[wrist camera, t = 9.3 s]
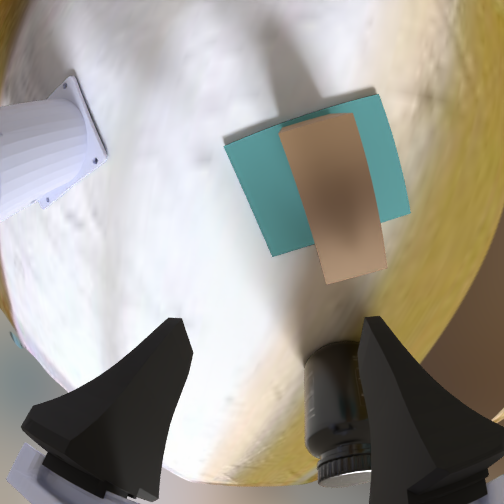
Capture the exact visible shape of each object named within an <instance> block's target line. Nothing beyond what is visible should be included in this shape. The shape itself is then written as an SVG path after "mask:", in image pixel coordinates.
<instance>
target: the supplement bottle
mask: <svg viewBox="0 0 504 504" xmlns="http://www.w3.org/2000/svg"><path fill="white" fill-rule="evenodd" d="M359 344H360V343H357V342H348V341H346V342H337V343H333V344H329V345H327V346H324V347H322V348H320V349H319V350H317V351H316V352H315V353H314V354H312V355H311V357H310V358H309V359H308V361H307V362H306V365H305V369H304V389H305V446H306V448H307V450H308V451H309V453H310V454H311V455H313V456H314V457H316V458H318V459H320V460H319V461H318V463H317V470H318V484H319V485H321V486H323V487H331V488H335V487H336V488H337V487H348V486H354V485H359V484H363V483H366V482H369V481H371V436H370V425H369V419H368V413H367V408H366V403H365V398H364V394H363V389H362V384H361V379H360V373H359V364H358V354H357V353H358V348H359Z"/></svg>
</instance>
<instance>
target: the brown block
mask: <svg viewBox="0 0 504 504" xmlns="http://www.w3.org/2000/svg"><path fill="white" fill-rule="evenodd" d="M278 134H279V137H280V140H281V143H282V145H283V148H284V151H285V154H286V156H287V159H288V162H289V165H290V168H291V171H292V174H293V177H294V180H295V182H296V185H297V188H298V191H299V194H300V198H301V201H302V204H303V207H304V210H305V213H306V216H307V219H308V223H309V226H310V229H311V232H312V236H313V239H314V243H315V246H316V249H317V253H318V256H319V260H320V263H321V267H322V270H323V274H324V278H325V281H326V285H328V284H331V283H335V282H339V281H343V280H347V279H350V278H354V277H358V276H361V275H365V274H368V273H372V272H375V271H379V270H382V269H386V268H387V261H386V254H385V247H384V241H383V234H382V228H381V223H380V217H379V212H378V207H377V202H376V197H375V193H374V188H373V184H372V179H371V175H370V171H369V167H368V163H367V159H366V155H365V152H364V148H363V144H362V141H361V138H360V134H359V131H358V128H357V124H356V121H355V118H354V115H353V113H335V114H327V115H324V116H320V117H316V118H313V119H309V120H306V121H302V122H299V123H296V124H292V125H289V126H286V127H283V128H281V130H280V132H279V133H278Z"/></svg>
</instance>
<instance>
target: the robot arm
mask: <svg viewBox="0 0 504 504" xmlns="http://www.w3.org/2000/svg"><path fill="white" fill-rule="evenodd" d="M66 84H67V87H66ZM96 158H97V160H98V162H96V160H95V159H96ZM106 160H107V153H106V151H105V149H104V146H103V144H102V142H101V140H100V137H99V135H98V133H97V130H96V128H95V126H94V123H93V121H92V119H91V116H90V114H89V111H88V109H87V106H86V104H85V101H84V99H83V96H82V93H81V91H80V88H79V85H78V83H77V80H76V78H75V77H74V76H69V77H67V78H66V79H65V80H64V81H63V82H62V83H61V84H60V85H59V86H58V87H57V88H56V89H55V90H54V92H53V93H52V94H51V95H50V96H49V97H48V98H47V99H46V100H39V101H32V102H25V103H18V104H13V105H7V106H2V107H0V223H1V222H2V221H4V220H6V219H7V218H9V217H11V216H12V215H14V214H16V213H17V212H19V211H21V210H23V209H24V208H26V207H28V206H30V205H32V204H33V203H35V202H37V201H38V202H39V204H40V206H41V208H42V209H46V208H48V207H49V206H50V205H51V204H52V203H53V202H54V201H56V200H57V199H58V198H59V197H60V196H62V195H63V194H64V193H65V192H66V191H68V190H69V189H70V188H71V187H73V186H74V185H75V184H76V183H78V182H79V181H80V180H82V179H83V178H84V177H85V176H87V175H88V174H89V173H91V172H92V171H94V170H95V169H96V168H98V167H99V166H100V165H102V164H103V163H105V162H106ZM357 354H358V364H359V373H360V379H361V384H362V389H363V394H364V398H365V403H366V408H367V413H368V419H369V425H370V436H371V487H370V498H369V504H504V474H503V475H501V476H499V477H497V478H495V479H493V480H492V481H490V482H488V483H486V482H485V478H486V477H488V475H489V473H488V467H489V466H491V465H492V464H494V463H495V462H497V461H498V460H499V459H500V458H502V457H503V456H504V427H503V426H501V425H499V424H497V423H495V422H493V421H491V420H489V419H487V418H485V417H483V416H482V415H480V414H478V413H477V412H475V411H474V410H472V409H470V408H469V407H467V406H466V405H465V404H463V403H462V402H461V401H459V400H458V399H457V398H455V397H454V396H453V395H451V394H450V393H449V392H448V391H447V390H445V389H444V388H443V387H442V386H441V385H440V384H439V383H437V382H436V381H435V380H434V379H433V378H432V377H431V376H430V375H429V374H428V373H427V372H426V371H425V370H424V369H423V368H422V366H421V365H420V364H419V363H418V362H417V361H416V360H415V359H414V358H413V357H412V355H411V354H410V353H409V352H408V351H407V349H406V348H405V347H404V346H403V345H402V343H401V342H400V341H399V340H398V338H397V337H396V336H395V335H394V333H393V332H392V331H391V330H390V328H389V327H388V326H387V324H386V323H385V322H384V321H383V319H382V318H381V317H380V316H373V317H365V319H364V324H363V329H362V334H361V339H360V344H359V348H358V353H357ZM192 356H193V350H192V347H191V344H190V341H189V338H188V336H187V333H186V330H185V327H184V323H183V320H182V318H168V319H166V320H165V321H164V322H163V323H162V324H161V325H160V326H159V327H158V328H156V329H155V330H154V331H153V332H152V333H151V334H150V335H149V336H148V337H147V338H146V339H144V340H143V341H142V342H141V343H140V344H139V345H138V346H137V347H136V348H135V349H133V350H132V351H131V352H130V353H129V354H127V355H126V356H125V357H124V358H122V359H121V360H120V361H119V362H118V363H116V364H115V365H114V366H112V367H111V368H110V369H108V370H107V371H106V372H104V373H103V374H101V375H100V376H98V377H97V378H95V379H93V380H92V381H90V382H88V383H86V384H85V385H83V386H81V387H79V388H77V389H76V390H73V391H71V392H69V393H67V394H65V395H63V396H61V397H58V398H55V399H53V400H50V401H47V402H44V403H41V404H38V405H34V406H33V407H32V409H31V410H30V412H29V413H28V415H27V417H26V419H25V421H24V422H23V424H22V426H21V428H22V430H23V431H24V432H25V433H26V434H27V435H28V436H29V437H30V438H31V439H33V440H34V441H35V442H36V443H38V444H39V445H40V446H41V447H42V448H43V449H45V450H46V451H47V452H48V453H47V455H46V456H45V455H43V454H42V453H41V452H39V451H38V450H36V449H35V448H33V447H32V446H30V445H29V444H27V443H24V445H23V446H22V448H21V450H20V452H19V454H18V456H17V458H16V460H15V462H14V464H13V466H12V468H11V470H10V472H9V474H8V476H7V479H6V480H7V482H8V483H10V484H11V485H12V486H13V487H14V488H15V489H16V490H17V491H18V492H19V493H21V494H22V495H23V496H24V497H25V498H26V499H27V500H28V501H29V502H30V503H31V504H139V503H136V502H134V501H131V500H128V499H127V496H129V497H131V498H134V499H136V497H138V498H141V499H144V500H147V501H150V502H153V501H156V500H157V499H158V498H159V485H160V474H161V468H162V461H163V455H164V450H165V444H166V440H167V435H168V431H169V427H170V423H171V420H172V417H173V414H174V411H175V408H176V406H177V403H178V400H179V398H180V395H181V393H182V390H183V387H184V385H185V382H186V379H187V376H188V374H189V370H190V366H191V361H192Z"/></svg>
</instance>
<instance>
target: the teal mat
mask: <svg viewBox="0 0 504 504" xmlns="http://www.w3.org/2000/svg"><path fill="white" fill-rule="evenodd" d="M335 113H353V115H354V118H355V121H356V124H357V128H358V131H359V134H360V138H361V141H362V144H363V148H364V152H365V155H366V159H367V163H368V167H369V171H370V175H371V179H372V184H373V188H374V193H375V197H376V202H377V207H378V212H379V217H380V223H382V222H385V221H388V220H391V219H394V218H398V217H401V216H404V215H407V214H410V213H411V212H410V206H409V201H408V196H407V191H406V186H405V182H404V177H403V173H402V169H401V165H400V161H399V157H398V153H397V149H396V146H395V142H394V139H393V135H392V132H391V129H390V126H389V123H388V119H387V116H386V113H385V110H384V108H383V105H382V102H381V99H380V96H379V94H376V95H372V96H368V97H364V98H361V99H357V100H353V101H349V102H346V103H342V104H339V105H335V106H332V107H329V108H325V109H322V110H319V111H316V112H313V113H310V114H307V115H304V116H301V117H298V118H295V119H292V120H289V121H286V122H284V123H281V124H278V125H275V126H273V127H270V128H267V129H265V130H262V131H260V132H257V133H254V134H252V135H249V136H247V137H245V138H242V139H240V140H237V141H235V142H232V143H230V144H228V145H225V146H224V148H225V151H226V153H227V155H228V157H229V159H230V162H231V164H232V166H233V168H234V171H235V173H236V175H237V177H238V179H239V182H240V184H241V186H242V188H243V191H244V193H245V195H246V197H247V200H248V202H249V204H250V207H251V209H252V211H253V213H254V216H255V218H256V220H257V223H258V225H259V227H260V229H261V232H262V234H263V236H264V239H265V241H266V243H267V246H268V248H269V250H270V253H271V255H272V257H274V256H277V255H281V254H284V253H287V252H290V251H294V250H297V249H300V248H303V247H306V246H310V245H313V244H315V243H314V239H313V236H312V232H311V229H310V226H309V223H308V219H307V216H306V213H305V210H304V207H303V204H302V201H301V198H300V194H299V191H298V188H297V185H296V182H295V180H294V177H293V174H292V171H291V168H290V165H289V162H288V159H287V156H286V154H285V151H284V148H283V145H282V143H281V140H280V137H279V134H278V133H279V132H280V130H281V128H283V127H286V126H289V125H292V124H296V123H299V122H302V121H306V120H309V119H313V118H316V117H320V116H324V115H327V114H335Z"/></svg>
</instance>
